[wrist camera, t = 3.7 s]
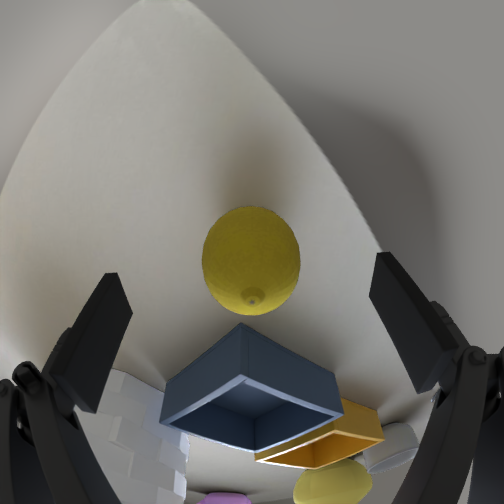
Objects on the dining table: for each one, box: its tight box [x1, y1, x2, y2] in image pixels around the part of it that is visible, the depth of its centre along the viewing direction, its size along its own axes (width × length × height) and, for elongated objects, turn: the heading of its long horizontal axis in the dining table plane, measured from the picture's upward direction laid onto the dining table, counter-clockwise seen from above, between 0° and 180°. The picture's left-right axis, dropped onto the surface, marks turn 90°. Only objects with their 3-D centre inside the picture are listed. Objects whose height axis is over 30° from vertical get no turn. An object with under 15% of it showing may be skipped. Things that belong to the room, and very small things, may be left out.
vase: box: [293, 458, 373, 504], centre depth 41 cm, size 18×18×19 cm
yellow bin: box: [255, 397, 385, 469], centre depth 33 cm, size 14×14×6 cm
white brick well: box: [19, 368, 190, 504], centre depth 24 cm, size 25×24×19 cm
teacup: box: [363, 423, 420, 474], centre depth 37 cm, size 14×11×8 cm
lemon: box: [202, 206, 300, 315], centre depth 16 cm, size 6×6×8 cm
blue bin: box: [159, 323, 345, 453], centre depth 26 cm, size 14×14×6 cm
